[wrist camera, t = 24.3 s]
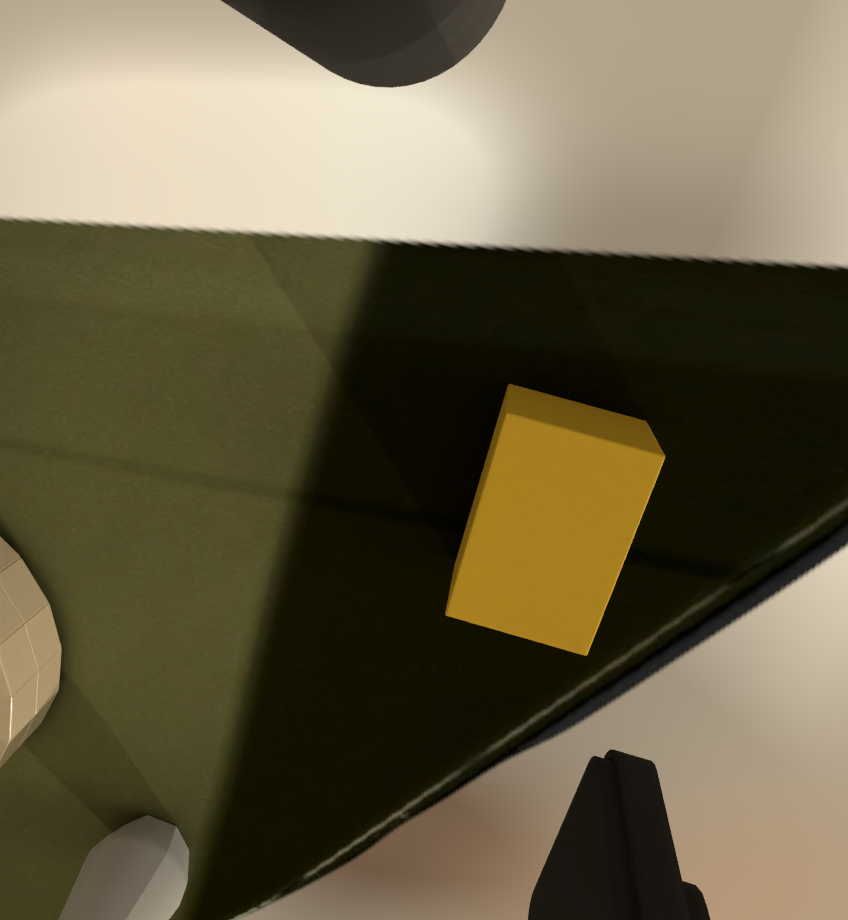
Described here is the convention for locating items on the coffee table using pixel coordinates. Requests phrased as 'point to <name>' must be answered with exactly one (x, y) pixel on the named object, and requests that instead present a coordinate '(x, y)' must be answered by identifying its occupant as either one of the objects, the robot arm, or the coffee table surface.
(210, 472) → the coffee table surface
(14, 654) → the bowl
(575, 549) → the sponge
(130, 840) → the salt shaker
